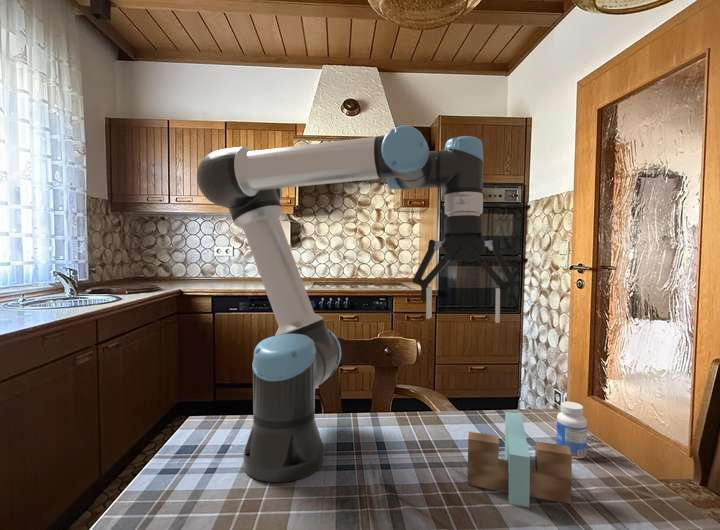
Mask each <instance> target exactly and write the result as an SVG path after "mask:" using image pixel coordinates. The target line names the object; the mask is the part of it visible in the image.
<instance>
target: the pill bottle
mask: <svg viewBox="0 0 720 530" xmlns="http://www.w3.org/2000/svg"><path fill="white" fill-rule="evenodd" d="M560 411H561V412H558V413H557V416H556V444H558V445H565V446H568V447H569V449H570V451H571V454H572V459H583V458H585V457H586V456H587V453H588V451H587V450H588V447H587V446H588V443H587V442H588V421H587V418H586V417H585V416H584V406H583V405H582V404H580V403H578V402H573V401H562V402H561V403H560Z"/></svg>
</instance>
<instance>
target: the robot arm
mask: <svg viewBox="0 0 720 530" xmlns="http://www.w3.org/2000/svg"><path fill="white" fill-rule="evenodd" d="M428 145H429V144H428V142H427V140H426V138H425V137H424V135H423V134H422V132H421V131H420V130H419V129H417V128H415V127H414V126H413V125H412V126H411V125H405V124H404V125H398V126H396V127H394V128H392V129H390V130H389V131H388V132H387V133H386V134H384V135H378V136H371V137H361V138H353V139H345V140H337V141H336V140H335V141H328V142H327V141H326V142H318V143H309V144H302V145H301V144H300V145H295V146H294V145H293V146H292V145H291V146H283V147H276V148H266V149H259V150H252V149H251V148H250V147H249V146H238V147H237V146H236V147H235V146H234V147H227V148H222V149H217V150H214V151H212V152H210V153H208V154H207V155H205V156H204V158H202V160H201V161H200V162H199V165H198V167H197V169H196V170H197V171H196V181H197V185H198V188H199V190H200V192H201V194H202V195H203V197H204V198H205V199H207V200H208V201H209V202H211V203H213V204H214V205H215V206H219V207H223V208H227V209H228V211H229V213H230V216H231V219H232V221H233V224H234V226H235V227H238V228H239V229H242V230H243V232H244V235H245V238H246V240H247V243H248V246H249V249H250V251H251V254H252V257H253V260H254V262H255V265H256V268H257V271H258V274H259V277H260V279H261V281H262V285H263V287H264V290H265V292H266V295H267V298H268V301H269V303H270V306H271V309H272V312H273V314H274V317H275V320H276V323H277V325H278V326H277V327H278V328H277V331H276V332H275V334H274V335H273V336H270V337H267V338H264V339H263V340H261V341H259V342H258V344H257V345H256V346H255V348H254V349H253V350H254V351H253V360H252V365H251V366H252V367H251V368H252V392H253V393H252V396H253V397H252V398H253V399H252V405H253V406H252V411H253V413H252V414H253V418H252V419H253V420H252V421H253V422H252V426H251V429H250V432H249V435H248V439H247V442H246V444H245V447H244V451H243V469H244V471H245V473H246V474H247V475H249V476H250V477H251V478H253V479H255V480H257V481H262V482H266V483H267V482H268V483H286V482H287V483H288V482H292V481H293V482H294V481H296V480H299V479H303V478H306V477H307V476H310V475H312V474H313V473H315V472H316V471H317V470H318V469H319V468H320V467H321V466H322V464H323V462H324V459H325V458H324V457H325V456H324V450H325V449H324V443H323V441H322V437H321V435H320V431H319V428H318V425H317V422H316V416H315V414H316V413H315V412H316V411H315V409H316V408H315V407H316V403H315V399H316V396H315V395H316V389H318V387H320V385H322V384H323V383H324V382H326V381H327V380H328V379H329V378H330V377H332V376H333V375H334V373H335V372H336V370H337V368H338V367H339V364H340V362H341V359H342V348H341V342H340V341H339V339H338V338H337V336H336V335H335V334H334V332H333V331H331V330H329V329H328V327H327V325H326V324H327V323H326V322H325V319H324V316H321V315H319V314H317V313H315V310H314V308H313V306H312V303H311V301H310V298H309V294H308V292H307V289H306V287H305V285H304V282H303V279H302V276H301V274H300V271H299V269H298V268H299V267H298V265H297V263H296V260H295V258H294V255H293V253H292V249H291V247H290V244H289V242H288V239H287V236H286V234H285V231H284V229H283V225H282V222H281V220H280V216H281V214H282V213H283V207H282V203H281V198H282V195H283V191H282V189H285V188H295V187H305V186H306V187H309V186H315V185H328V184H336V183H337V184H339V183H348V182H349V183H350V182H357V181H358V182H359V181H369V180H378V179H379V180H382V179H386V184H387V186H388V187H389V188H390V189H391V190H402V191H407V190H418V189H419V190H420V189H421V190H422V189H436V188H437V189H443V188H444V214H445V215H446V217H445V218H444V229H443V230H444V234H443V237H444V238H443V240H441V241H440V240H435V239H429V241H428V245H427V250H426V253H425V254H424V256H423V259H422V261H421V263H420V265H419V266H418V268H417V271H416V272H415V274H414V276H413V278H412V283H413V284H415V285H418V286H420V288H421V293H420V295H421V299H420V300H421V303H426V305H425V306H426V307H425V309H426V311H425V312H426V313H425V315H426V316H425V319H426V320H427V319H428V320H430V319H431V318H433V317H432V315H433V314H432V312H433V311H432V310H433V307H432V306H433V304H432V303H433V286H429V285H430V283H432V282H433V280H434V279H435V278H436V277H437V276H438V274H439V273H440V272H441V271H442V270H443V269H444V268H445V267H446V266H447V264H448V263H449V262H450V261H451V260H452V261H453V262H463V261H464V262H474V261H476V262H477V263H478V264H479V265H480V266H481V267H482V268H483V270H484V271H485V272H486V273H487V275H489V277H490V278H491V279H492V280H493V281H494V283H496V285H498V287H499V288H495V323H496V324H500V322H501V321H500V320H501V306H506V304H507V290H508V289H509V288H511V287H515V286H516V285H517V281H516V279H515V277H514V275H513V273H512V271H511V269H510V268H509V266H508V264H507V262H506V259H505V258H504V255H503V254H502V252H501V250H500V243H499V239H497V238H494V239H491V240H484V238H483V230H484V229H483V228H484V227H483V225H484V224H483V223H484V218H483V217H482V216H480V215H482V214H483V213H484V212H483V211H484V191H483V190H484V163H485V162H484V147H483V146H484V145H483V142H482V140H481V139H480V138H478V137H476V136H469V135H462V136H458V137H452V138H450V139H447V141H446V143H445V146H444V149H441V150H431V151H430V147H429V146H428ZM441 247H442V249H443V250H444V252H445V254H444V256H443V257H442V258H441V260H439V262H438V263H437V264H436V265H435V266H434V268H433V269H431V271H430V272H429V273H428V274H427V275H426V277H425V278H424V279H423V277H424V274H425V273H426V271H427V268H428V267H429V265H430V262H431V261H432V260H433V259H432V258H433V257H434V255H435V252H436V251H438V250H439V249H440V248H441ZM485 247H487V248H488V250H489V251H492V252H493V254H494V256H495V258H496V260H497V262H498V265H499V266H500V269H501V270H502V272H503V273H504V276H505V278H506V281H503V279H502V278H501V277H500V276H499V274H498V273H497V272H496V271H495V270H494V269H493V268H492V267H491V265H490V264H489V263H488V262H487V261H486V260H485V258H484V257H483V256H482V255H481V252H482V251H483V249H484V248H485Z"/></svg>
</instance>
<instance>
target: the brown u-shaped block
mask: <svg viewBox="0 0 720 530" xmlns="http://www.w3.org/2000/svg"><path fill="white" fill-rule="evenodd" d="M499 437H500V436H499V435H495V434H489V433H488V434H487V433H481V432H473V431H468V438H467V485H468V486H474V487H477V488H483V489H488V490H494V491H500V492H504V493H509V470H508V460H506V459H503V458H500V457H499V450H500V449H499V446H500V440H499ZM534 450H535V458H534V460H535V461H534V462H535V463H530V494H529V497H530V498H531V497H532V498H537V499H541V500H547V501H552V502H557V503H564V504H569V505H572V473H573V472H572V468H573V467H572V465H573V461H572V460H573V458H572V454H571V451H570V449H569V447H568V446H565V445H558V444H557V443H551V442H545V441H544V442H542V441H537V440H535V449H534Z"/></svg>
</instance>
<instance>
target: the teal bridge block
mask: <svg viewBox="0 0 720 530" xmlns="http://www.w3.org/2000/svg"><path fill="white" fill-rule="evenodd" d="M504 415H505V416H504V419H505V420H504V429H505V430H504V455H505V456H504V458H505V460H508V470H509V492H508V504H509V505H514V506H519V507H524V508H530V496H529V494H530V464H531V457H530V452H529V447H528V441H527V436H526V431H525V426H524V421H523V415H522V413H518V412H510V411H505V414H504Z"/></svg>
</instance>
